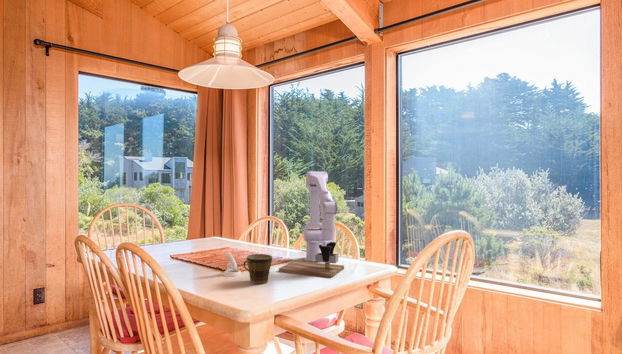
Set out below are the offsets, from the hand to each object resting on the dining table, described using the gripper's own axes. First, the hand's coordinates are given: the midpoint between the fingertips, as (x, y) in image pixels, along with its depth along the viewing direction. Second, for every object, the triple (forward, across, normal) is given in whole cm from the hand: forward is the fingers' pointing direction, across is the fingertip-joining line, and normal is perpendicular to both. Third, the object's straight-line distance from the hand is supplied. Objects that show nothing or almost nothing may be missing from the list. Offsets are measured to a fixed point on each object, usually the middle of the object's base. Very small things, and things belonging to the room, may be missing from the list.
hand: (327, 260), depth 176 cm
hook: (+5, +19, -36) cm, 41 cm away
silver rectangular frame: (0, 0, 0) cm, 1 cm away
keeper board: (+5, -1, -7) cm, 9 cm away
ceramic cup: (+5, +27, -22) cm, 35 cm away
